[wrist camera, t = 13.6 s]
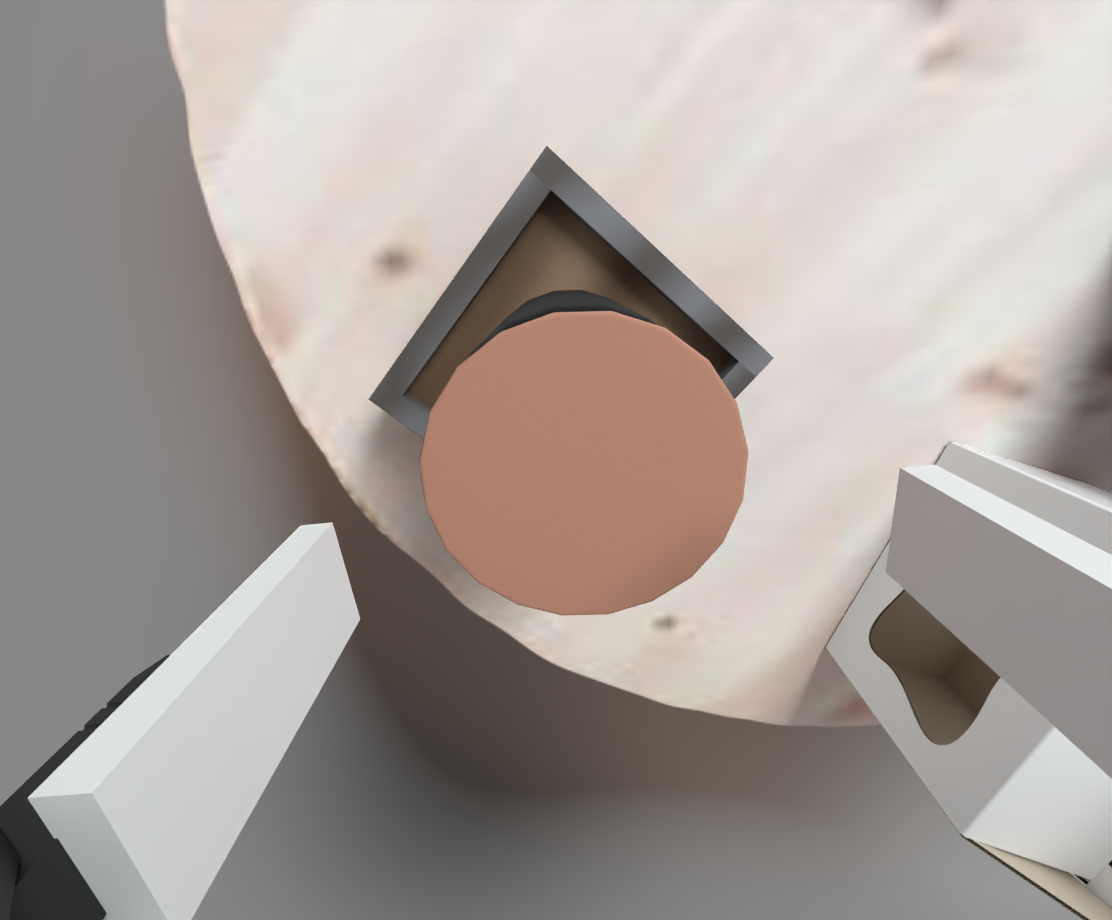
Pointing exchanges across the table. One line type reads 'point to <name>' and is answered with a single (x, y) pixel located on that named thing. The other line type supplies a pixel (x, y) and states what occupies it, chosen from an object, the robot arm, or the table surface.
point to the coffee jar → (583, 458)
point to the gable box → (989, 709)
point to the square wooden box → (558, 264)
